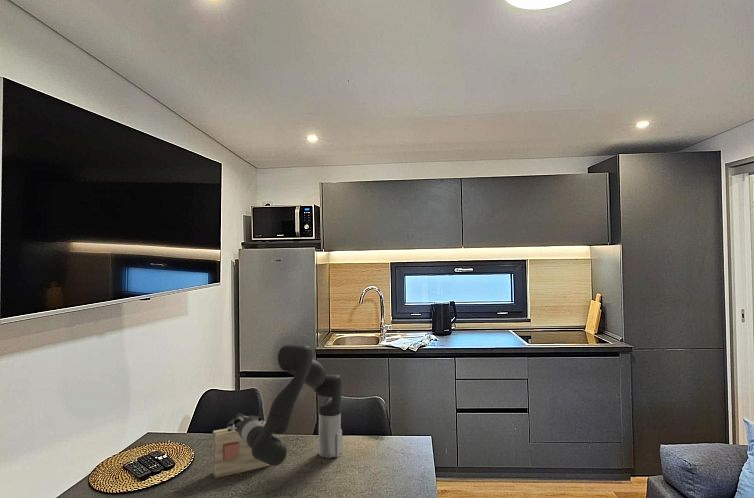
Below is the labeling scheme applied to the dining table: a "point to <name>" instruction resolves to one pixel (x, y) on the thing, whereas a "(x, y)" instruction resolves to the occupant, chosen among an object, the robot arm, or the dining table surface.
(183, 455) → the dining table surface
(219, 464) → the key panel
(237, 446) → the brick red key
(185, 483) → the dining table surface
